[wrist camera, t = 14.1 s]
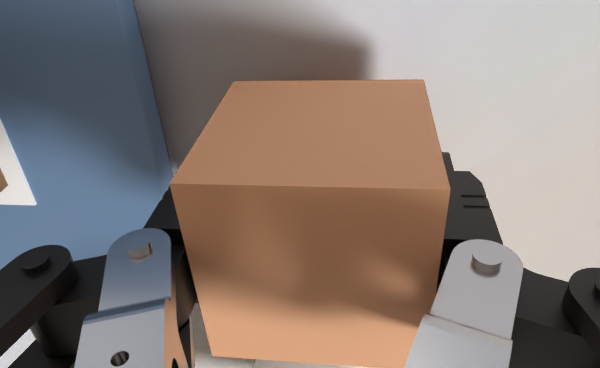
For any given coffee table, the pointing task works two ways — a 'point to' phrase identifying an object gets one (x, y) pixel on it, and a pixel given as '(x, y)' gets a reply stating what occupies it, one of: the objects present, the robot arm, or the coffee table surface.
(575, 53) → the coffee table surface
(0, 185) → the walnut block
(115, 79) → the board
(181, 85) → the coffee table surface
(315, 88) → the terracotta block
